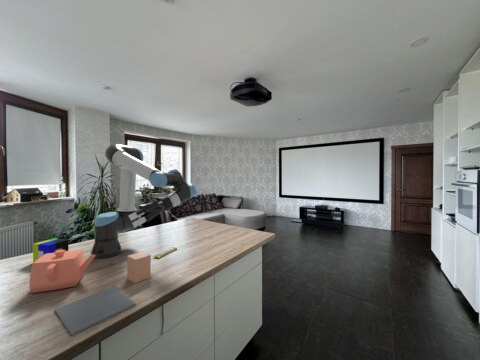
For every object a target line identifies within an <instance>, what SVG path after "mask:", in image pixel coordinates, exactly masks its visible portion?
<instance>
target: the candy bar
mask: <svg viewBox="0 0 480 360" xmlns="http://www.w3.org/2000/svg"><path fill="white" fill-rule="evenodd" d="M176 251H178V248H177V247H171V248H169V249H167V250H164V251H162V252H160V253H158V254H155V255H154V257H155V258H158V259H159V258H163V257H165V256H167V255H169V254H171V253H173V252H176Z"/></svg>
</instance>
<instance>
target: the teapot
mask: <svg viewBox="0 0 480 360" xmlns="http://www.w3.org/2000/svg"><path fill="white" fill-rule="evenodd" d="M95 256H96V255H91V254H90V255H89V256H88V257H87V259H85V254H84V250H83V249H80V250H79V249H78V250H68V251H65V250H58V251H55V252H54V253H47V254H45V255H43V256H42V257H40V258H39V259H38V260H36V261H35V262H34V263H33V262H32V265H31V269H30V275H29V286H28V287H29V292H30V293H31V294H33V293H34V294H35V293H36V294H37V293H43V292H49V291H56V290H63V289H67V288H73V287H76V286H78V284H79V283H80V281H81V279H82V278H83V276H84V274H85V270H86V269H87V268H88V267H89V265H90V264H91V263H92V261H93V260H94V259H95V258H94V257H95Z"/></svg>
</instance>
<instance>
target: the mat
mask: <svg viewBox="0 0 480 360" xmlns="http://www.w3.org/2000/svg"><path fill="white" fill-rule="evenodd" d="M134 306H136V302H134V301H133V300H132V299H130V298H129V297H127V295H125V294H124V293H122V292H121V291H119V290H118V289H117V288H115V287H114V286H111V287H108V288H107V289H103V290H100V291H98V292H96V293H93V294H90V295H87V296H86V297H82V298H80V299H77V300H75V301H72V302H70V303H66V304H64V305H60V306H59V307H56V308H54V312H55V313H56V315H57V316H58V318H59V319H60V321H61V322H62V324H63V325H64V326H65V328H66V330H67V331H68V332H70V333H69V334H70V335H72V336H74V335H76V334H78V333H80V332H82V331H84V330H86V328H87V329H89V328H91V327H93V326H95V325H97V324H99V323H101V322H103V321H105V320H107V319H109V317H110V318H111V316H112V317H114V316H115V314H116V315H118V314H120V313H123V312H124V311H126V310H129V309H130V308H133V307H134ZM119 312H120V313H119ZM117 313H118V314H117ZM113 315H114V316H113ZM102 320H103V321H102ZM100 321H101V322H100ZM98 322H99V323H98ZM96 323H97V324H96ZM94 324H95V325H94ZM92 325H93V326H92ZM90 326H91V327H90ZM88 327H89V328H88ZM79 331H80V332H79ZM77 332H78V333H77ZM75 333H76V334H75ZM73 334H74V335H73Z"/></svg>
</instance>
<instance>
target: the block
mask: <svg viewBox="0 0 480 360" xmlns="http://www.w3.org/2000/svg"><path fill="white" fill-rule="evenodd" d="M151 256H152V255H151V254H149V253H147V252H144V251H140V252H136V253H132V254H129V255H127V256H126V257H127V258H126V260H127V262H126V266H127V267H126V271H127V272H126V279H128V280H129V281H131V282H132V283H134V284H136V283H139V282H141V281H144V280H146V279H149V278H151V269H152V267H151V261H152V259H151V258H152V257H151Z"/></svg>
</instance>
